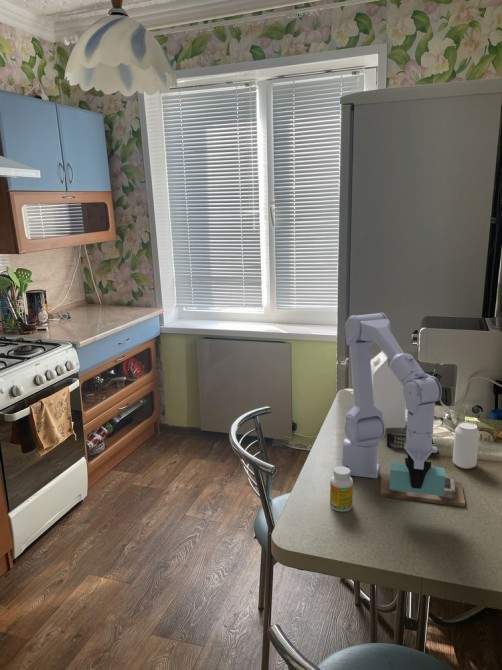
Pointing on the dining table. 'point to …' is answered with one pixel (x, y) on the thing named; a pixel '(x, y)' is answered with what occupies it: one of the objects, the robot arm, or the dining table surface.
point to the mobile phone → (397, 440)
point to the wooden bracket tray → (451, 494)
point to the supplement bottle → (341, 489)
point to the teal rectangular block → (431, 483)
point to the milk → (387, 392)
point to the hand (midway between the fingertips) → (416, 482)
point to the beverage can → (466, 445)
